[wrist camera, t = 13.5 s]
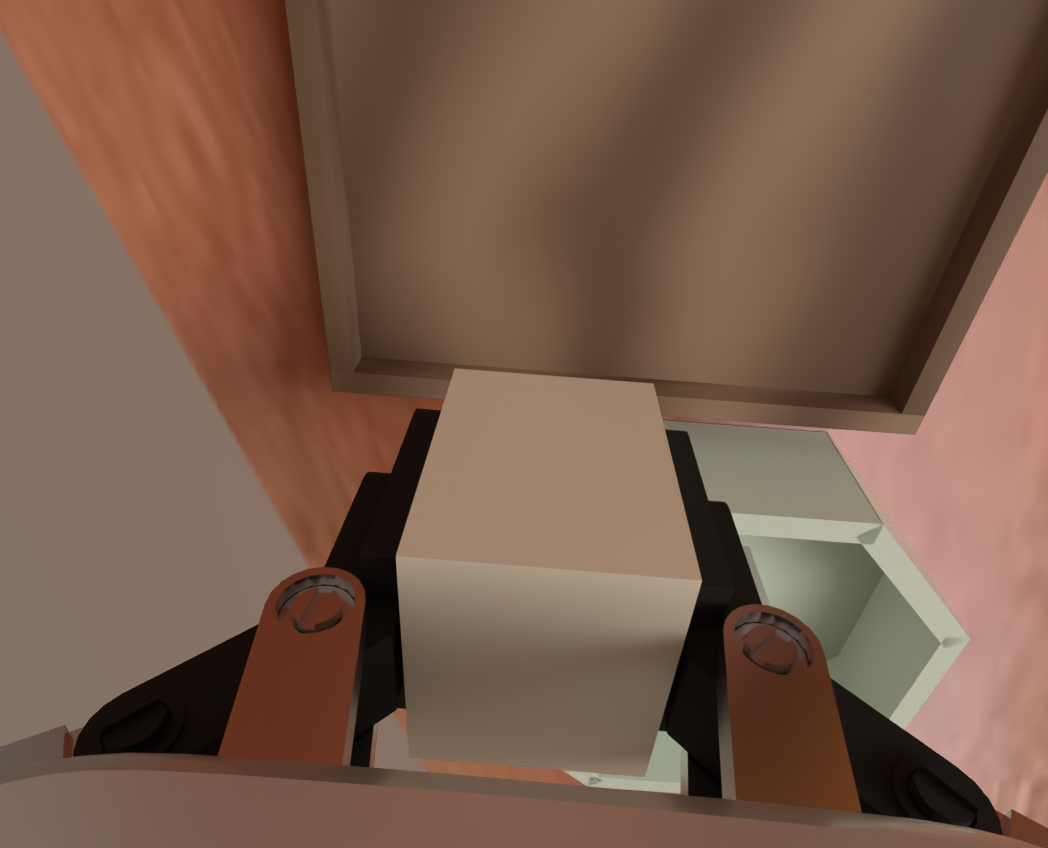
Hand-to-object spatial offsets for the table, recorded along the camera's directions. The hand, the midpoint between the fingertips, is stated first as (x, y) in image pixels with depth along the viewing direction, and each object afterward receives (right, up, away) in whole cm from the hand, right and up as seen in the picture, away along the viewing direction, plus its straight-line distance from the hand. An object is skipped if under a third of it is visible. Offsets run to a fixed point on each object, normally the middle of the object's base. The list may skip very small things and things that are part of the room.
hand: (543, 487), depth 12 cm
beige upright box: (0, 0, 0) cm, 0 cm away
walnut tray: (+3, +8, +5) cm, 10 cm away
